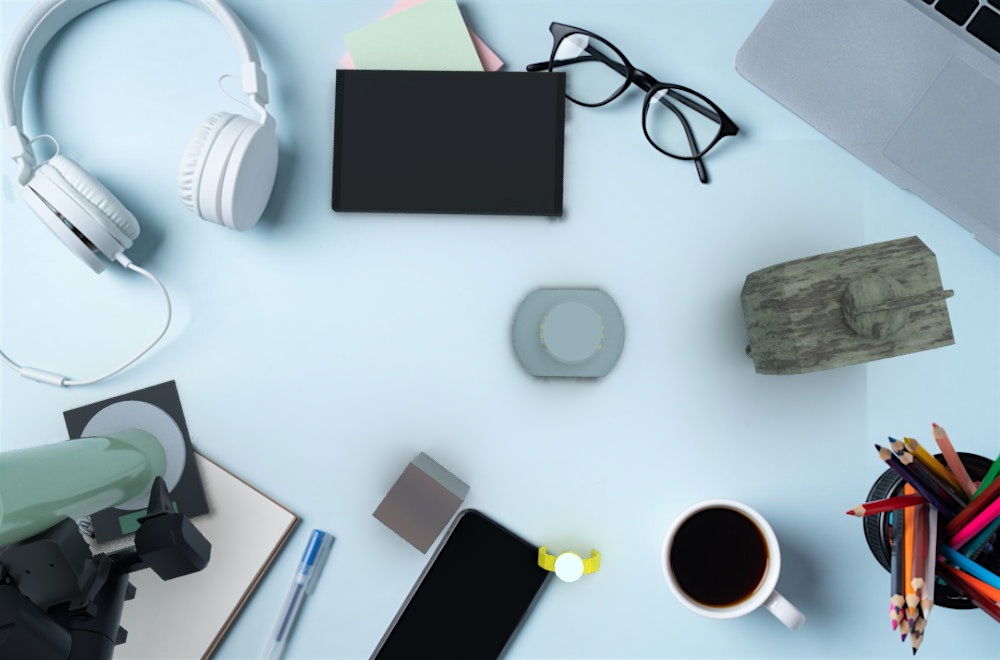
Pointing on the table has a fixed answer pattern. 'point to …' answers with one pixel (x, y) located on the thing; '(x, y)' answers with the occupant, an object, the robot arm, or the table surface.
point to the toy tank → (846, 308)
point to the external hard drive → (449, 142)
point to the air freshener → (568, 333)
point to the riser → (422, 502)
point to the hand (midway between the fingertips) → (114, 491)
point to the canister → (74, 479)
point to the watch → (569, 564)
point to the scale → (167, 423)
